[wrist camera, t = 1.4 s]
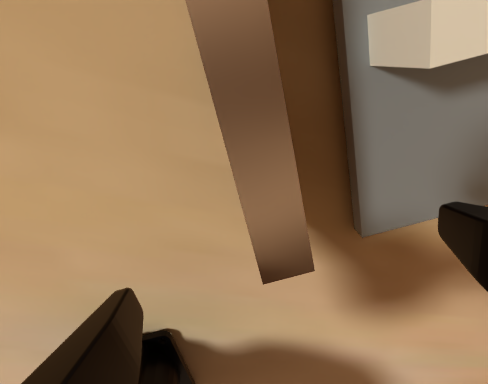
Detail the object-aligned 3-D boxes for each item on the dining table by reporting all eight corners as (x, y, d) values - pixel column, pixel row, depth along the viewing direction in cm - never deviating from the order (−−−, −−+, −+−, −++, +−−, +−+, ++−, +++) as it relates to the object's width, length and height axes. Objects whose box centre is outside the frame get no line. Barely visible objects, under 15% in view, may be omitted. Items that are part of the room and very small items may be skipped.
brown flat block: (280, 201, 17) (314, 271, 11) (245, 211, 17) (263, 284, 11) (210, -132, 11) (211, -319, 6) (157, -118, 11) (105, -291, 6)
